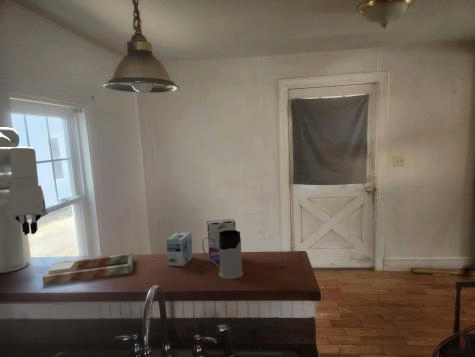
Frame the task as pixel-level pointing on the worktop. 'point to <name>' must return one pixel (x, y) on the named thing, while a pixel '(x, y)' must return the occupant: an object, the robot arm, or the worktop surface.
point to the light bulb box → (179, 249)
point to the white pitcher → (229, 254)
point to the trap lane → (93, 272)
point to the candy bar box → (217, 236)
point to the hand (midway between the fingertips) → (30, 233)
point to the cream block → (62, 268)
